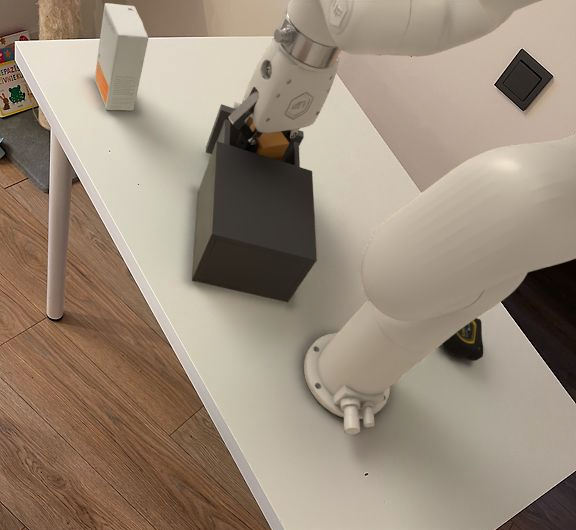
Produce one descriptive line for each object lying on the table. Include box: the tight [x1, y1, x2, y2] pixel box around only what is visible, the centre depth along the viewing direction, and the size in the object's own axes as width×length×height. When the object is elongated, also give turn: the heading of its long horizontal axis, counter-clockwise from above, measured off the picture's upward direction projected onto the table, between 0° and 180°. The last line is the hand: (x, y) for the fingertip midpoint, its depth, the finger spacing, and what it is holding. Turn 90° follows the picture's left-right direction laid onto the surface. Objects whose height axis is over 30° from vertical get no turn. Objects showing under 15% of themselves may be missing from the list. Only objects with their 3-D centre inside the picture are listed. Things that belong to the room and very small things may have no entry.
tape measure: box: [441, 317, 484, 362], centre depth 90 cm, size 7×7×4 cm
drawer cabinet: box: [191, 141, 318, 303], centre depth 80 cm, size 16×14×10 cm
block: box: [236, 123, 289, 161], centre depth 82 cm, size 5×5×5 cm
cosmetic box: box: [93, 2, 149, 111], centre depth 82 cm, size 6×4×12 cm
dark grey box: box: [205, 101, 305, 167], centre depth 85 cm, size 19×12×8 cm, turn 1°
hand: (257, 155), depth 84 cm, fingers open, 4 cm apart
